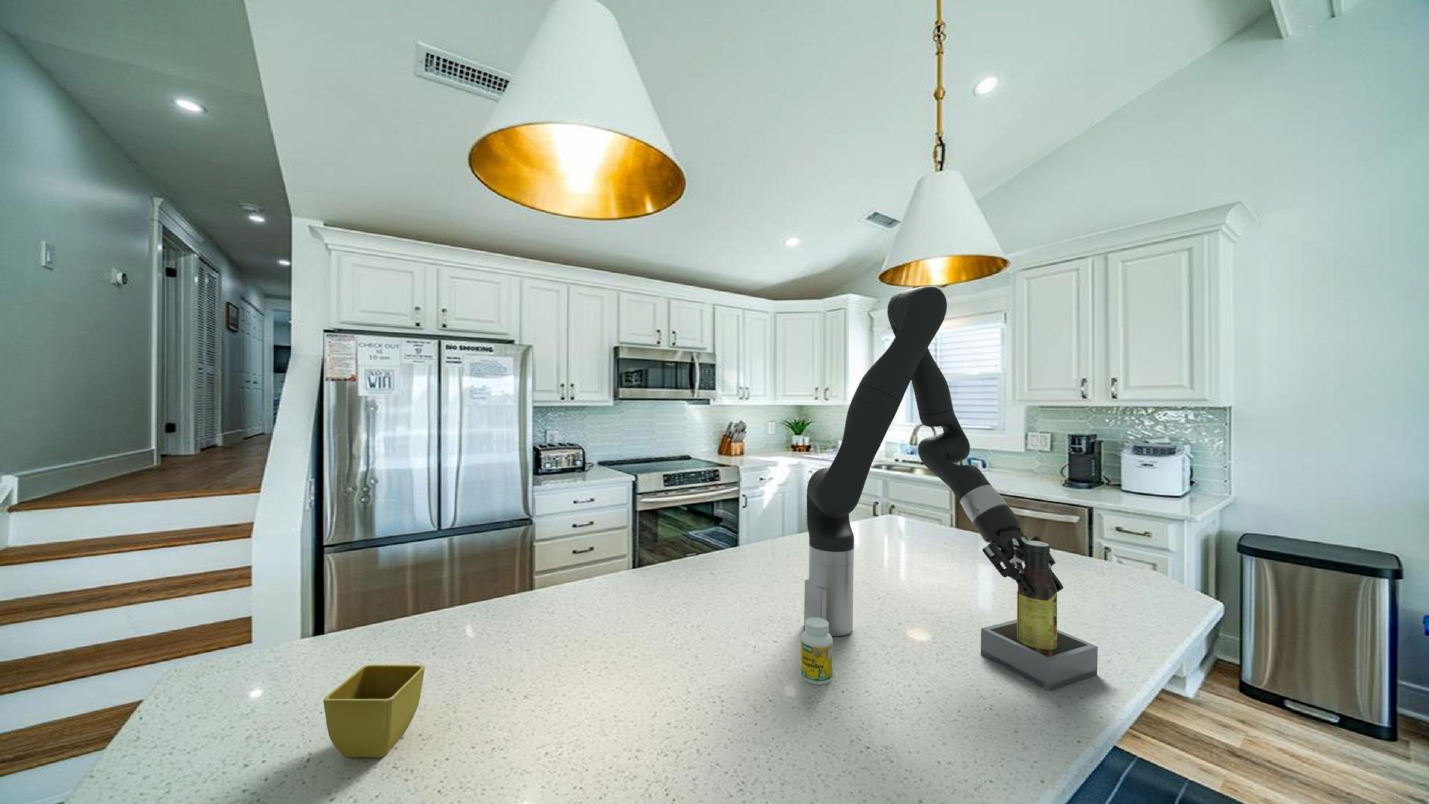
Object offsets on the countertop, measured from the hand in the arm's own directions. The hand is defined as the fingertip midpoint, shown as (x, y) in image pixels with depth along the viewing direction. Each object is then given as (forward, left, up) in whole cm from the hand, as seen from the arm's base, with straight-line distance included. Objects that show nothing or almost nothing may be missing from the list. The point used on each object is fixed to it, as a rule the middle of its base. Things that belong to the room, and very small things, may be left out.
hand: (1046, 593), depth 92 cm
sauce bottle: (0, +2, -11) cm, 12 cm away
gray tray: (0, +2, -14) cm, 14 cm away
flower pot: (-106, +23, -14) cm, 109 cm away
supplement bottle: (-40, +14, -14) cm, 44 cm away
